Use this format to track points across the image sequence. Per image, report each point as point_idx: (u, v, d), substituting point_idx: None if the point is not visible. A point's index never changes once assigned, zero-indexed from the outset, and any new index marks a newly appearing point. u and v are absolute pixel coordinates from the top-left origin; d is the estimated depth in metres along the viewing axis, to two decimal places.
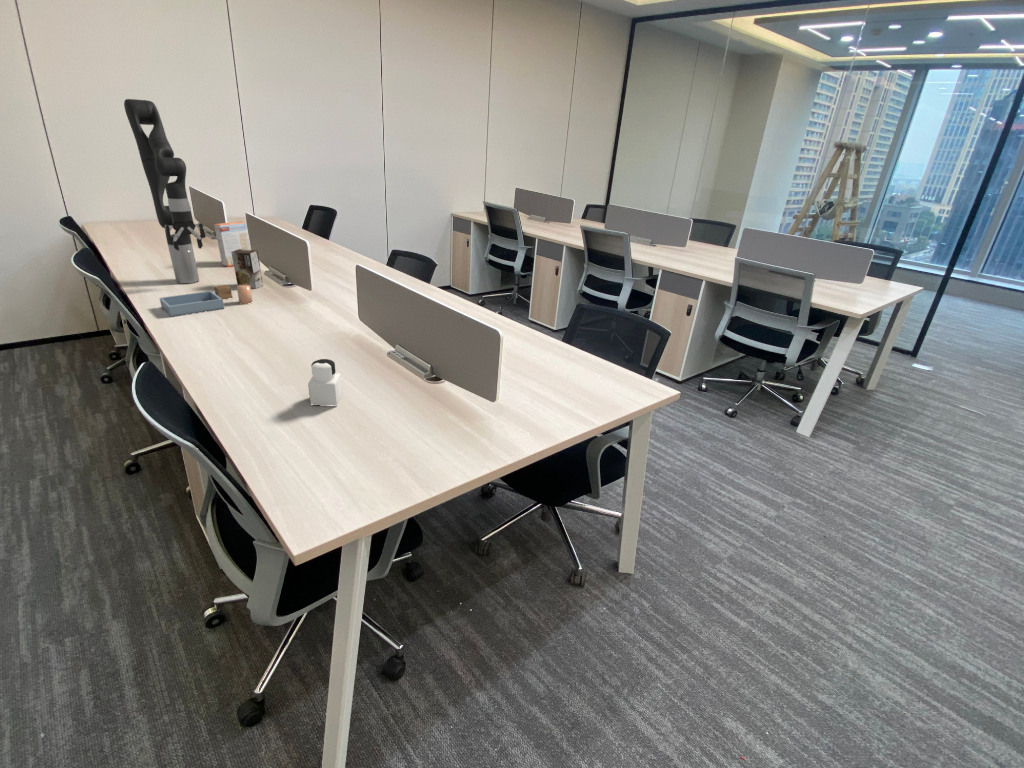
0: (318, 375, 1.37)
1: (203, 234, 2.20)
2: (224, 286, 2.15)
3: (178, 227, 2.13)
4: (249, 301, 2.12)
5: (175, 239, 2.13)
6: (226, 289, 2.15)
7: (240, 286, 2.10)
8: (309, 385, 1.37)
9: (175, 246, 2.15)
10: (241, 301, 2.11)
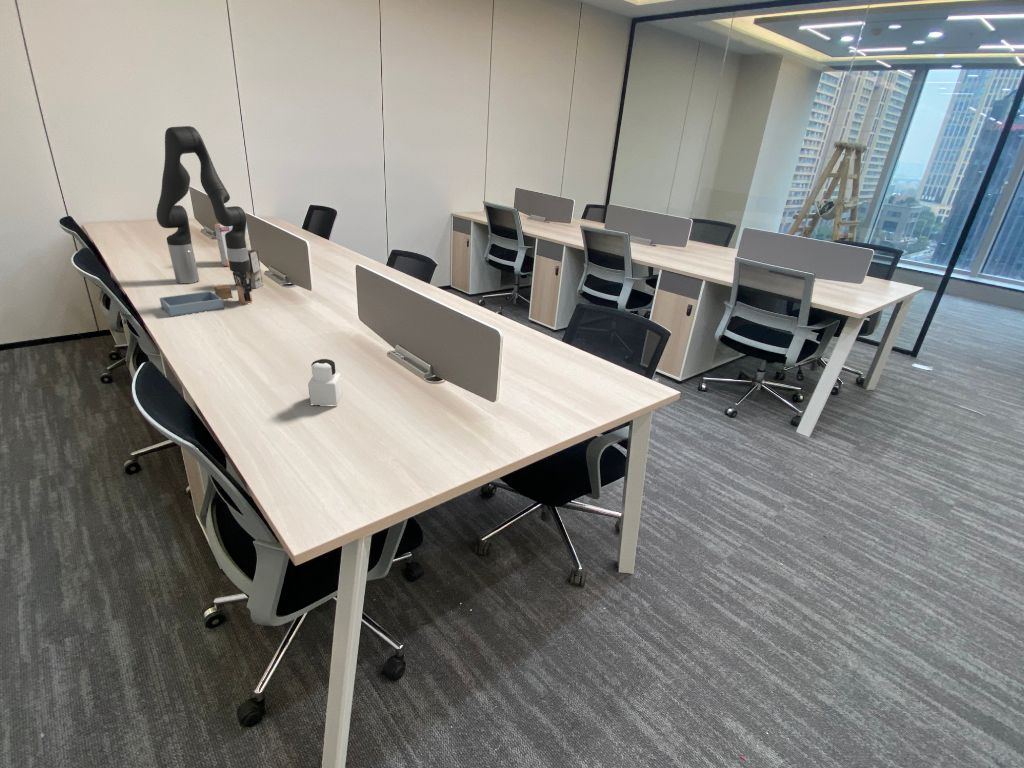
0: (318, 375, 1.37)
1: None
2: (224, 286, 2.15)
3: None
4: (249, 301, 2.12)
5: None
6: (226, 289, 2.15)
7: None
8: (309, 385, 1.37)
9: (249, 297, 2.11)
10: (241, 301, 2.11)
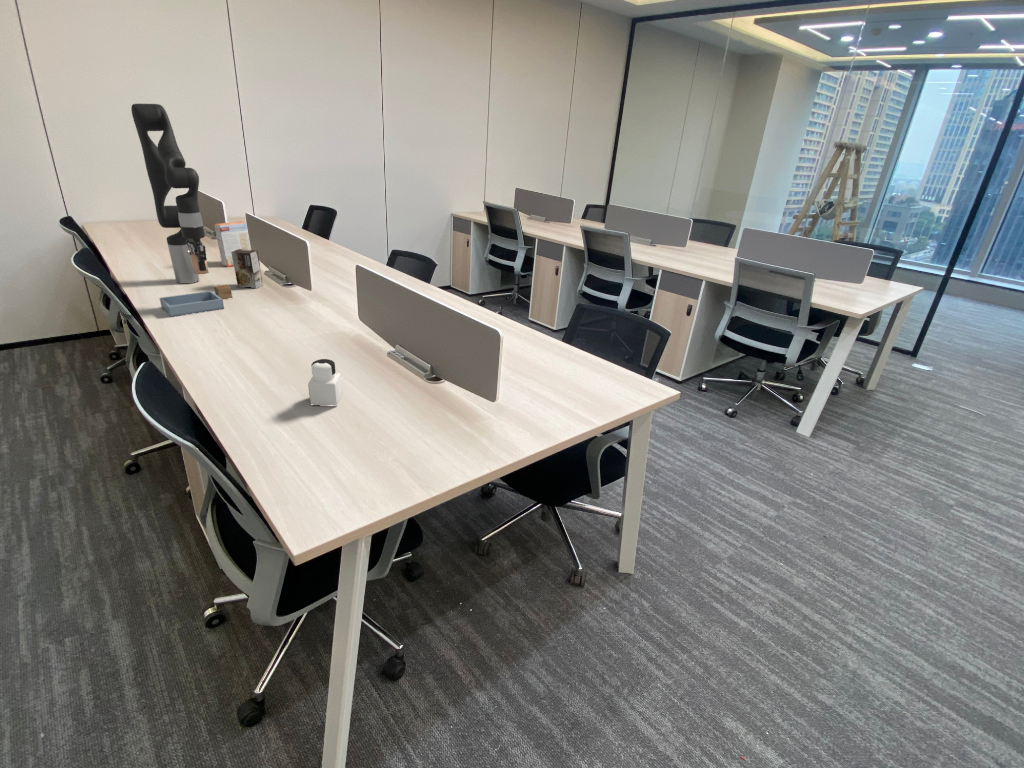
0: (318, 375, 1.37)
1: None
2: (224, 286, 2.15)
3: None
4: (204, 271, 1.99)
5: None
6: (226, 289, 2.15)
7: None
8: (309, 385, 1.37)
9: (204, 266, 1.98)
10: (196, 271, 1.98)
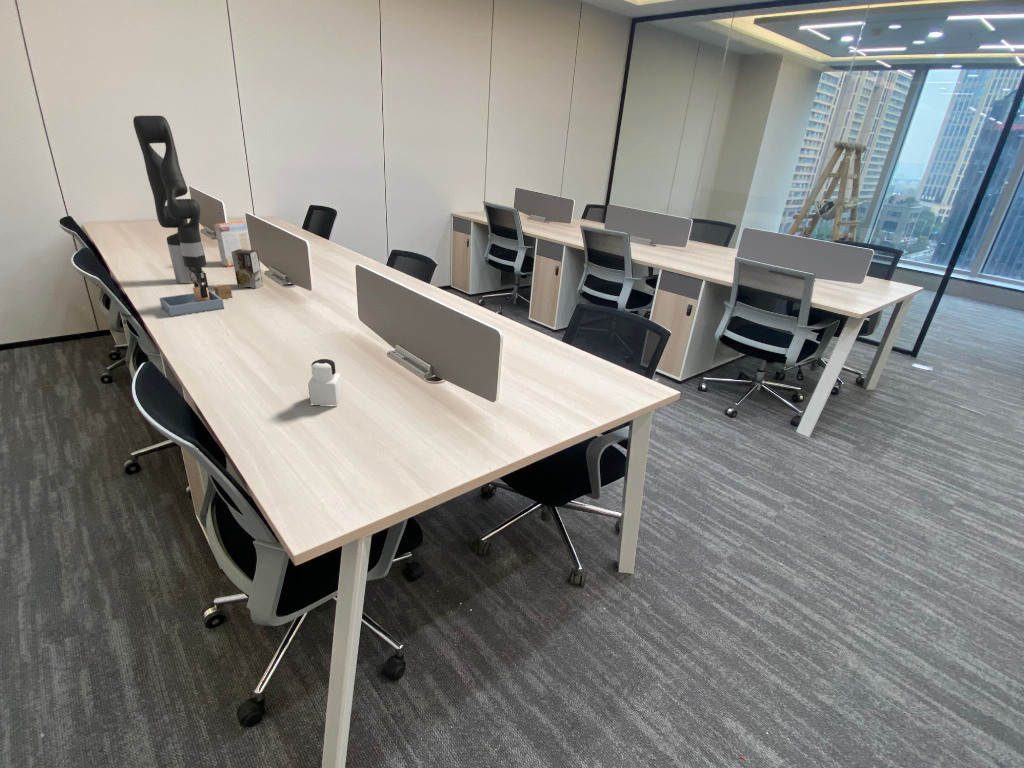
0: (318, 375, 1.37)
1: None
2: (224, 286, 2.15)
3: None
4: None
5: None
6: (226, 289, 2.15)
7: (196, 288, 2.02)
8: (309, 385, 1.37)
9: None
10: None
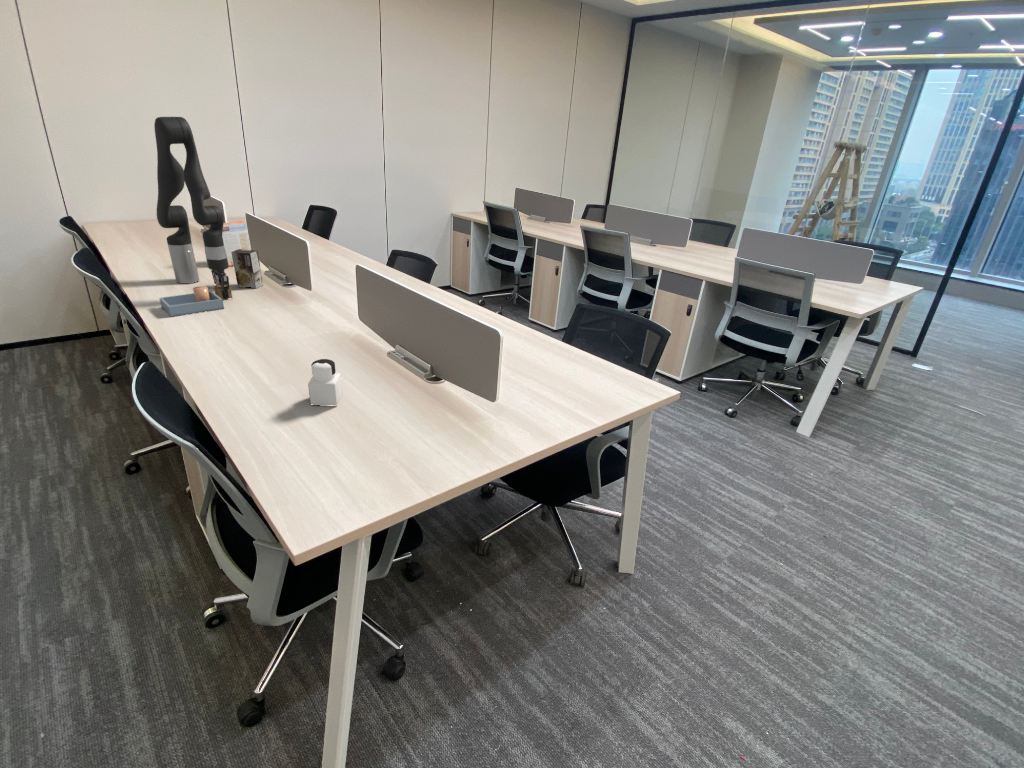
0: (318, 375, 1.37)
1: None
2: (224, 286, 2.15)
3: None
4: None
5: None
6: None
7: (196, 288, 2.02)
8: (309, 385, 1.37)
9: (227, 294, 2.15)
10: None
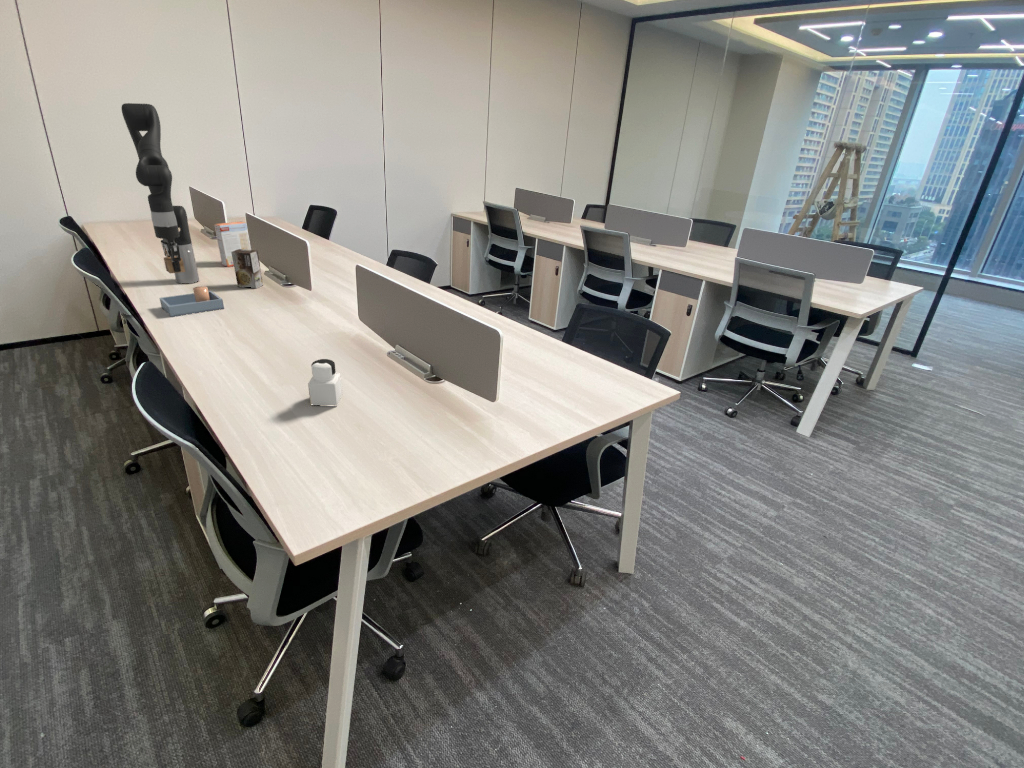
0: (318, 375, 1.37)
1: None
2: None
3: None
4: None
5: None
6: None
7: (196, 288, 2.02)
8: (309, 385, 1.37)
9: (179, 267, 1.92)
10: None
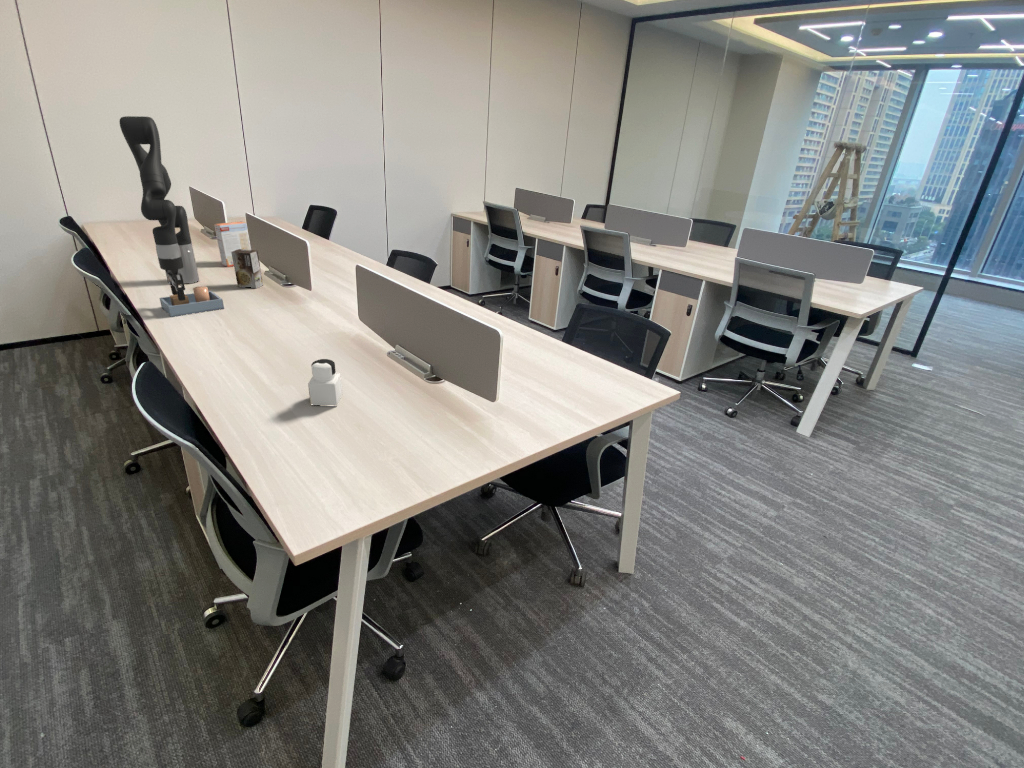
0: (318, 375, 1.37)
1: None
2: None
3: None
4: None
5: None
6: None
7: (196, 288, 2.02)
8: (309, 385, 1.37)
9: (183, 296, 1.95)
10: None
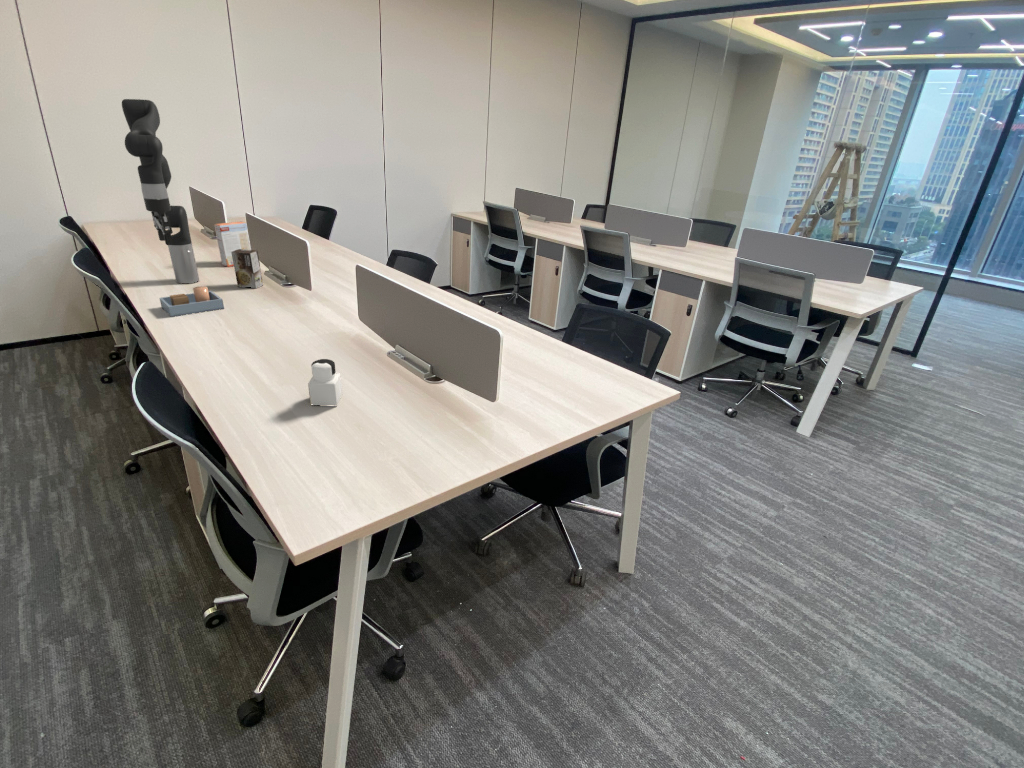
0: (318, 375, 1.37)
1: None
2: (181, 296, 1.98)
3: None
4: None
5: None
6: (183, 299, 1.98)
7: (196, 288, 2.02)
8: (309, 385, 1.37)
9: (171, 240, 1.86)
10: None
